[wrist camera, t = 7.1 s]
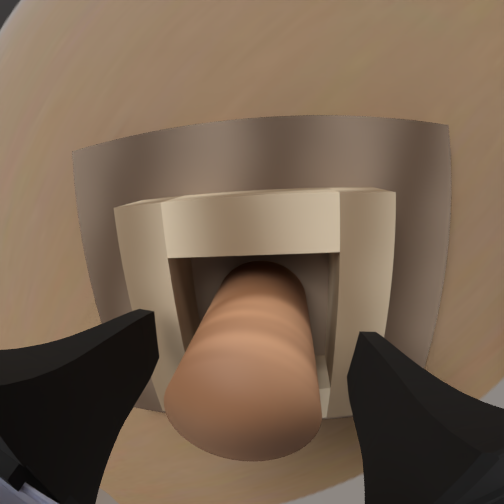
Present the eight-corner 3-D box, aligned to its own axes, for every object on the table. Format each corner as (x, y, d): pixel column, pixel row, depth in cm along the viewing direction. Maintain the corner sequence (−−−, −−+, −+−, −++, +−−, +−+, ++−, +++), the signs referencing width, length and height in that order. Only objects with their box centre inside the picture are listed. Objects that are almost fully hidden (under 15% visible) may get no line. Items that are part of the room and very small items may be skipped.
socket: (438, 127, 11) (478, 119, 8) (406, 397, 15) (421, 435, 12) (83, 151, 13) (39, 151, 10) (137, 397, 17) (117, 431, 14)
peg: (263, 241, 12) (240, 327, 6) (324, 305, 13) (352, 423, 6) (200, 298, 13) (136, 403, 7) (259, 353, 14) (241, 472, 7)
